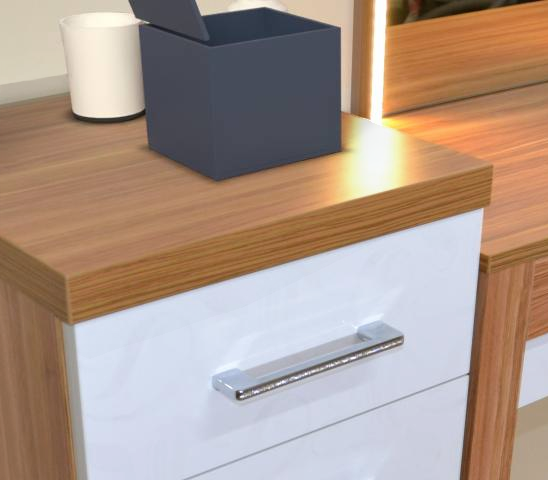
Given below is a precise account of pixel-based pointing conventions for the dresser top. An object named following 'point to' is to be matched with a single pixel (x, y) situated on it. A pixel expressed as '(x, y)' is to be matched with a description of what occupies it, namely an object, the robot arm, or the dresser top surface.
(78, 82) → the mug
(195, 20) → the flap
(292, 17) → the carton
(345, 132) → the dresser top surface
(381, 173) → the dresser top surface
